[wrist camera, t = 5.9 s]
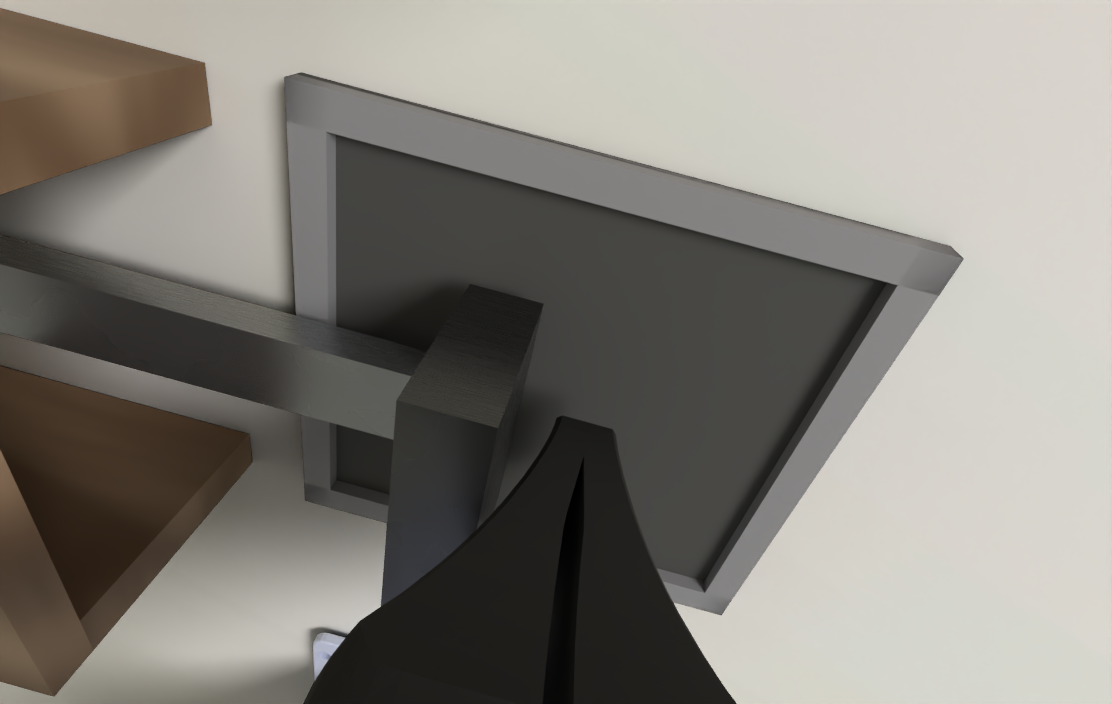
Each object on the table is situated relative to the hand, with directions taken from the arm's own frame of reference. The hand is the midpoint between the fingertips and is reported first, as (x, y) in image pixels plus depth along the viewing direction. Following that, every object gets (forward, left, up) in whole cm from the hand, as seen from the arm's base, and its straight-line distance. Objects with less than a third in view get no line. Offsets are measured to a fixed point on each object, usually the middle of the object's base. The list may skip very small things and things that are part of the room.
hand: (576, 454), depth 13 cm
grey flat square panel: (0, +1, -2) cm, 2 cm away
